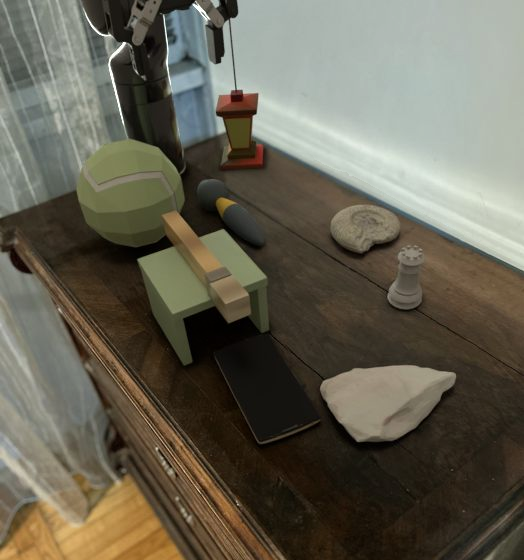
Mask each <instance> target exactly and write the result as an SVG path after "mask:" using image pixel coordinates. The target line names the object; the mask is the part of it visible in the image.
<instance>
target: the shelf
mask: <svg viewBox="0 0 524 560" xmlns="http://www.w3.org/2000/svg"><path fill="white" fill-rule="evenodd" d="M198 238H199V239H200V240H201V241H202V242H203V244H204V245H205V246H206V247H207V249H208V250H209V251H210V252H211V253H212V255H213V256H214V257H215V258H216V259H217V261H218V262H219V263H220V264H221V265H222V267H226V268H227V269H228V270H229V271H230V273H231V275H233V276H234V277H235V278H236V280H237V281H238V282H239V283H240V284H241V286H242V287H243V288H244V289H245V290H246V292H247V293H248V294H249V299H250V308H251V314H250V315H248V316H247V317H248V319H250V320H251V322H252V323H253V324H254V326H255V327H256V329H258V331H259V333H261V334H263V333H266V332H268V331H270V320H269V307H268V306H269V305H268V294H267V293H268V292H267V286H269V283H268V281H269V280H268V277H267V275H266V274H265V273H264V272H263V271H262V270H261V269H260V268H259V266H258V265H257V264H256V263H255V261H253V260H252V259H251V257H250V256H249V255H248V254H247V253H246V252H245V251H244V250H243V249H242V247H241V246H240V245H239V244H238V243H237V241H235V240H234V238H233V237H232V236H231V235H230V234H229V233H228V231H226V230H225V229H224V228H222V229H219V230H217V231H215V232H211V233H208V234H205V235H202V236H198ZM136 260H137V264H138V267H139V269H140V272H141V276H142V279H143V283H144V287H145V290H146V293H147V297H148V301H149V304H150V308H151V311H152V315H153V317H154V319H155V320H156V322H157V324H158V325H159V326H160V328H161V331H162V332H163V333H164V336H165V337H166V339H167V340H168V341H169V342H168V343H170V345H171V347H172V348H173V350H174V351H175V353H176V356H178V358H179V360H180V362H181V363H182V365H183V366H187V365H189V364H192V363H193V357H192V353H191V349H190V344H189V339H188V336H187V330H186V326H185V322H184V319H185V318H188V317H190V316H192V315H193V316H194V315H196V314H199V313H200V312H202V311H205V310H208V309H210V308H213V307H216V306H215V305H214V303H213V301H212V299H211V298H210V297H209V295H208V292H207V289H206V287H205V286H204V285H203V283H202V282H201V281H200V279H199V278H198V277H197V275H196V274H195V273H194V271H193V270H192V269H191V267H190V266H189V265H188V263H187V262H186V261H185V259H184V258H183V257H182V255H181V254H180V253H179V251H178V250H177V249H176V247H175V246H174V245H173V246H171V247H168V248H166V249H163V250H159V251H157V252H154V253H150V254H148V255H145V256H142V257H139V258H137V259H136Z"/></svg>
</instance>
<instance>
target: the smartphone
mask: <svg viewBox="0 0 524 560" xmlns="http://www.w3.org/2000/svg"><path fill="white" fill-rule="evenodd" d="M213 356H214V359H215V361H216V363H217V365H218V366H219V370H220V372H221V373H222V376H223V377H224V379H225V381H226V383H227V385H228V387H229V389H230V391H231V394H232V395H233V398H234V399H235V401H236V403H237V405H238V407H239V410H240V411H241V413H242V415H243V416H244V420H245V421H246V423H247V424H248V426H249V428H250V430H251V433H252V434H253V436H254V438H255V440H256V442H257V443H258V444H259V445H265V444H268V443H271V442H275V441H277V440H280V439H283V438H286V437H289V436H291V435H294V434H296V433H299V432H301V431H303V430H306V429H308V428H310V427H311V426H314V425H317V424H318V423H319V422H320V421H321V419H322V418H321V414H320V413H319V412H318V410H317V409H316V407H315V406H314V404H313V402H312V400H311V399H310V397H309V396H308V394H307V392H306V391H305V389H304V388H303V387H302V385H301V383H300V382H299V380H298V379H297V377H296V375H295V374H294V372H293V370H292V368H291V367H290V366H289V364H288V363H287V361H286V360H285V358H284V357H283V355H282V353H281V351H280V350H279V348H278V347H277V345H276V343H275V342H274V340H273V339H272V337H271V335H270V334H269V333H266V332H265V333H264V334H263V333H262V334H259V335H256V336H253V337H250V338H247V339H245V340H244V339H243V340H242V341H241V340H240V341H239V342H236V343H232V344H229V345H227V346H224V347H221V348H220V349H217V350H214V351H213Z"/></svg>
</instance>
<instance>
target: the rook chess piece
mask: <svg viewBox="0 0 524 560" xmlns="http://www.w3.org/2000/svg"><path fill="white" fill-rule="evenodd" d="M397 259H398V261H399V263H398V265H397V268H398V273H397V276H396V279H395V280H394V282H393V283H392V284H391V285H390V286H389V289H388V293H387V301H388V302H389V303H390V304H391V306H393V307H394V308H395V309H399V310H400V311H401V310H403V311H407V310H408V311H409V310H414V309H415V308H416V307H418V306H419V305H421V303H422V301H423V298H422V297H423V289H422V287H421V285H420V282H419V273H420V271H421V270H422V264H423V263H424V262H425V255H424V254H423V249H422V248H419V246H418V245H415V244H414V245H413V247H412V245H411V244H409V245H406V246H403V247H402V248H401V251H400V252H399V253H398V254H397Z"/></svg>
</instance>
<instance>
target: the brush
mask: <svg viewBox="0 0 524 560" xmlns="http://www.w3.org/2000/svg"><path fill="white" fill-rule="evenodd" d="M162 219H163V224H164V228H165V233H166V235H165V236H166V237H167V238H168V240H169V241H170V242H171V243H172V245H173V246H175V247H176V249H177V250H178V251H179V253H180V254H181V255H182V257H183V258H184V259H185V261H186V262H187V263H188V265H189V266H190V267H191V269H192V270H193V271H194V273H195V274H196V275H197V277H198V278H199V279H200V281H201V282H202V283H203V285H204V286H205V287H206V289H207V292H208V295H209V297H210V298H211V299H212V301H213V303H214V305H215V306H214V307H215V308H216V309H217V311H218V312H219V313H220V314H221V316H222V317H223V319H224V320H225V321H226V323H227V324H230V323H233V322H235V321H238V320H241V319H243V318H246V317H248V315H250V314H251V308H250V299H249V294H248V293H247V292H246V290H245V289H244V288H243V287H242V286H241V284H240V283H239V282H238V281H237V280H236V278H235V277H234V276H233V275H231V273H230V271H229V270H228V269H227V268H226V267H222V265H221V264H220V263H219V262H218V261H217V259H216V258H215V257H214V256H213V255H212V253H211V252H210V251H209V250H208V249H207V247H206V246H205V245H204V244H203V242H202V241H201V240H200V239H199V236H198V235H197V234H196V233H195V231H194V230H193V229H192V228H191V226H190V225H189V224H188V223H187V222H186V221H185V219H184V218H183V217H182V216H181V214H179V213H178V212H177V211H176V210H175V211H172V212H169V213H166V214H163V215H162Z"/></svg>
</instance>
